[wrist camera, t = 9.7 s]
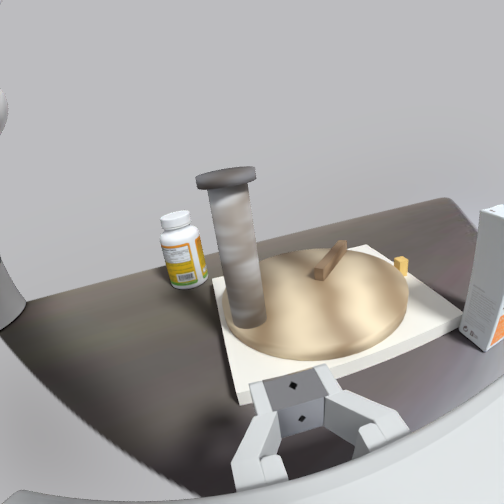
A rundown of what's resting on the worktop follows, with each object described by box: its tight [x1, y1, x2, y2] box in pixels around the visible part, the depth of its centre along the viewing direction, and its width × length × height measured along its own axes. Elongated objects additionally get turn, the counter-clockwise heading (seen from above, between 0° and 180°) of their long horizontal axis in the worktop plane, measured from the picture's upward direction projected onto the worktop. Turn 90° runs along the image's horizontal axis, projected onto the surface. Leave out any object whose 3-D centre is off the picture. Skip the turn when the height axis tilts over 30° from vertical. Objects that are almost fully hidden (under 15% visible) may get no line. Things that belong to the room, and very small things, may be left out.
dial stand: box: [212, 245, 463, 405], centre depth 31 cm, size 22×20×4 cm
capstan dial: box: [196, 167, 409, 361], centre depth 29 cm, size 19×19×14 cm
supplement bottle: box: [160, 211, 208, 289], centre depth 41 cm, size 5×5×10 cm
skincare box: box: [459, 204, 504, 352], centre depth 20 cm, size 6×4×12 cm
